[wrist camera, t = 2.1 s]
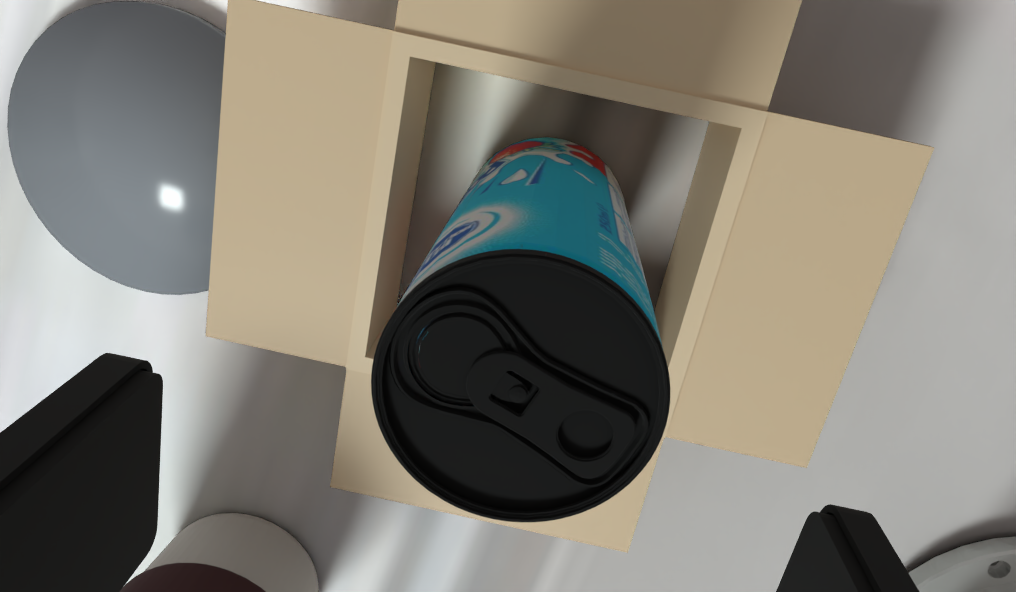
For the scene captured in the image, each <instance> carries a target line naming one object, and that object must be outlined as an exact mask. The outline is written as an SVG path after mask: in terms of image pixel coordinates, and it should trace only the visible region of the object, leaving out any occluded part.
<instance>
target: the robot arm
mask: <svg viewBox="0 0 1016 592" xmlns="http://www.w3.org/2000/svg"><path fill="white" fill-rule="evenodd" d="M162 395H163V380H162V377H161V375H160V374H157V373H153V370H152V367H151V364H150V363H149V362H148V361H145V360H140V359H135V358H131V357H126V356H121V355H116V354H111V353H105V354H103V355H101V356H100V357H98V358H97V359H96V360H94V361H93V362H92V363H91V364H89V365H88V366H87V367H85V368H84V369H83V370H81V371H80V372H79V373H78V374H76V375H75V376H74V377H72V378H71V379H70V380H68V381H67V382H66V383H64V384H63V385H62V386H61V387H59V388H58V389H57V390H55V391H54V392H53V393H51V394H50V395H49V396H48V397H46V398H45V399H44V400H42V401H41V402H40V403H38V404H37V405H36V406H35V407H33V408H32V409H31V410H29V411H28V412H27V413H25V414H24V415H23V416H22V417H20V418H19V419H18V420H16V421H15V422H14V423H12V424H11V425H10V426H9V427H7V428H6V429H5V430H3V431H2V432H1V433H0V592H120V590H121V589H122V588H123V586H124V585H125V584H126V582H127V581H128V580H129V578H130V577H131V576H132V574H133V573H134V572H135V570H136V569H137V568H138V566H139V565H140V564H141V562H142V561H143V560H144V558H145V557H146V556H147V554H148V552H149V551H150V549H151V547H152V545H153V542H154V539H155V536H156V532H157V520H158V495H159V470H160V445H161V420H162ZM776 592H1016V536H1014V537H1003V538H993V539H989V540H985V541H981V542H976V543H972V544H968V545H964V546H961V547H959V548H956V549H954V550H951V551H949V552H946V553H944V554H941V555H939V556H936V557H934V558H932V559H931V560H929V561H927V562H926V563H924V564H922V565H921V566H919V567H917V568H915V569H914V570H912V571H910V572H909V573H908V572H907V570H906V569H905V567H904V565H903V564H902V562H901V560H900V559H899V557H898V555H897V554H896V552H895V550H894V549H893V547H892V545H891V544H890V542H889V540H888V539H887V537H886V535H885V534H884V532H883V530H882V529H881V527H880V525H879V524H878V522H877V520H876V519H875V518H874V516H873V515H872V514H870V513H868V512H864V511H859V510H854V509H850V508H845V507H840V506H835V505H831V504H830V505H827V506H825V507H824V508H823V509H822V510H821V512H820V513H819V512H812V513H811V514H810V515H809V516H808V518H807V519H806V522H805V524H804V526H803V529H802V531H801V533H800V536H799V538H798V541H797V543H796V545H795V548H794V550H793V553H792V555H791V557H790V560H789V562H788V565H787V567H786V569H785V572H784V574H783V577H782V579H781V581H780V584H779V586H778V589H777V591H776Z"/></svg>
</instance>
